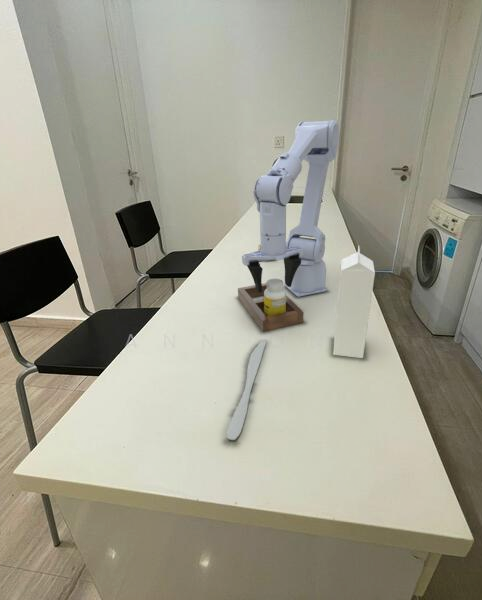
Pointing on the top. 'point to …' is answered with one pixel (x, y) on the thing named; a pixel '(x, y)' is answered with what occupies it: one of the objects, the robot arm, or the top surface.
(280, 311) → the supplement bottle
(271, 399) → the top surface
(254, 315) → the divided wooden frame
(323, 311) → the top surface
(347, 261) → the milk
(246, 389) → the butter knife
